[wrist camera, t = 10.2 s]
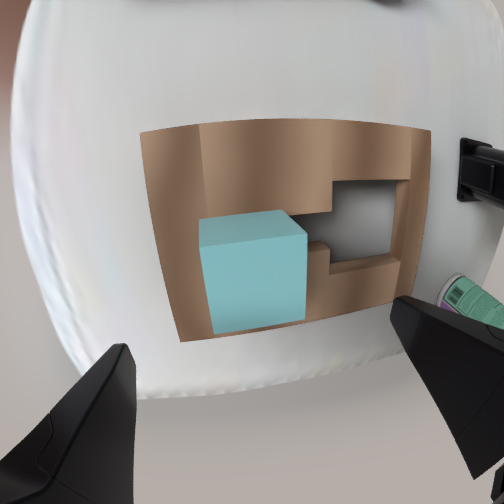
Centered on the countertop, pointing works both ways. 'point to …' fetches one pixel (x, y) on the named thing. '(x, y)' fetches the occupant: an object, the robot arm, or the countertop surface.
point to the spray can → (471, 301)
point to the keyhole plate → (283, 203)
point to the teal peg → (253, 270)
